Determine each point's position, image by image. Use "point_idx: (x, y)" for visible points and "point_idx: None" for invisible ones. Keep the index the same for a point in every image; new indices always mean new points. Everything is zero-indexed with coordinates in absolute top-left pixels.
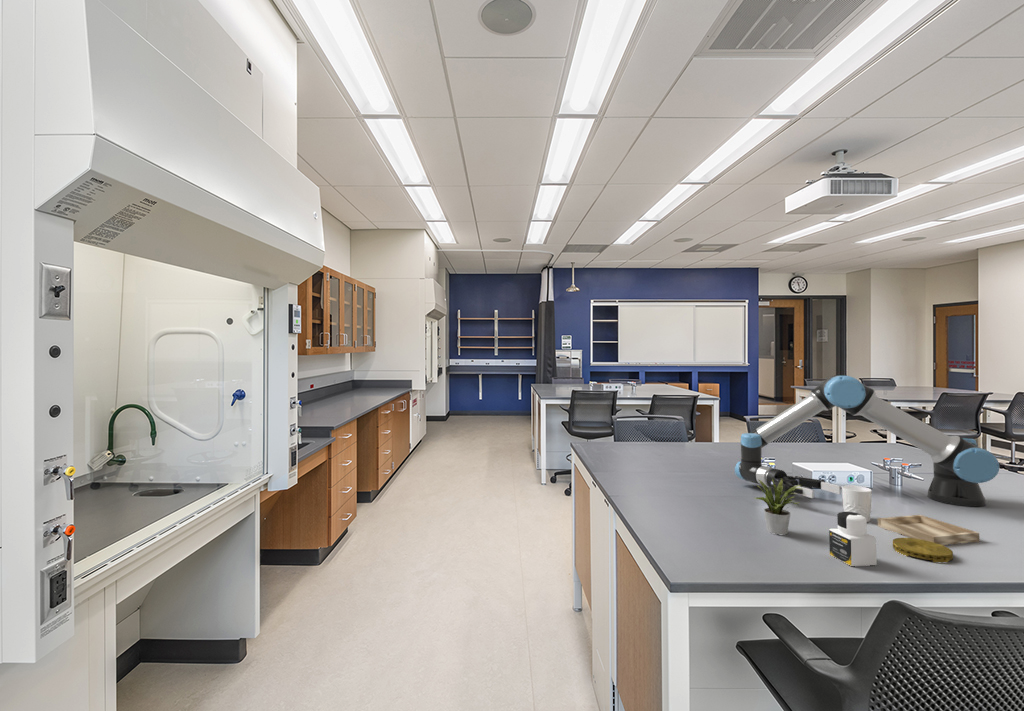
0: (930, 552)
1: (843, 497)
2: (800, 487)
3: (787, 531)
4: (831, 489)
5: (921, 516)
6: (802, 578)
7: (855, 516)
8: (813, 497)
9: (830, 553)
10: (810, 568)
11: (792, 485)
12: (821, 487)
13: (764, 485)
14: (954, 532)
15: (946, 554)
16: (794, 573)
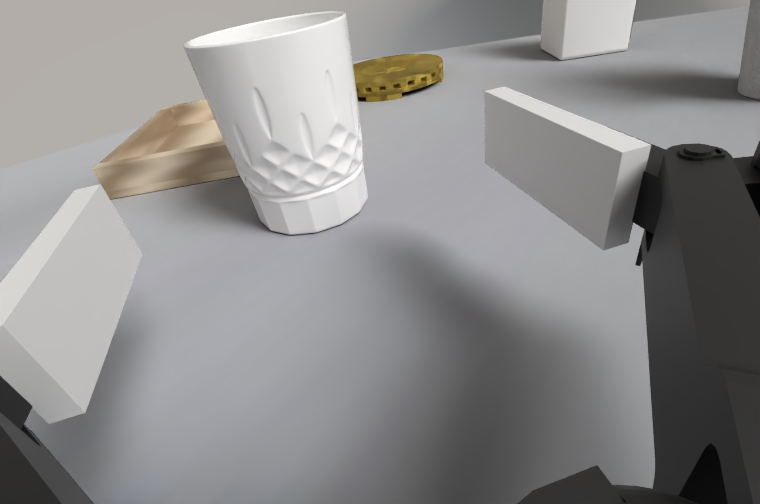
0: (401, 57)
1: (350, 89)
2: (582, 120)
3: (739, 78)
4: (109, 278)
5: (113, 160)
6: (719, 13)
7: None
8: (486, 157)
9: (628, 42)
10: (694, 26)
11: (674, 163)
12: (70, 385)
13: None
14: (163, 141)
15: (378, 58)
16: (734, 15)
